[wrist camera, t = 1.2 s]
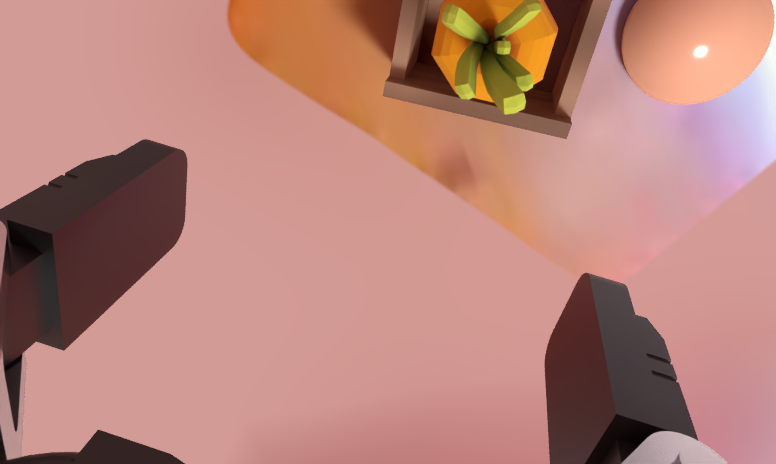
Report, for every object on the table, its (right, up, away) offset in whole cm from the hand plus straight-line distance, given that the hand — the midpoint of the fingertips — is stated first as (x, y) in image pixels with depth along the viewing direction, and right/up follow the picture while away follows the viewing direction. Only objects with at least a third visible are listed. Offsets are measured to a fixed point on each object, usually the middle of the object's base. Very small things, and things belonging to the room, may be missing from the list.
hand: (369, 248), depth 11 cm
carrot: (+7, +13, +20) cm, 24 cm away
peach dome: (+16, +11, +18) cm, 27 cm away
